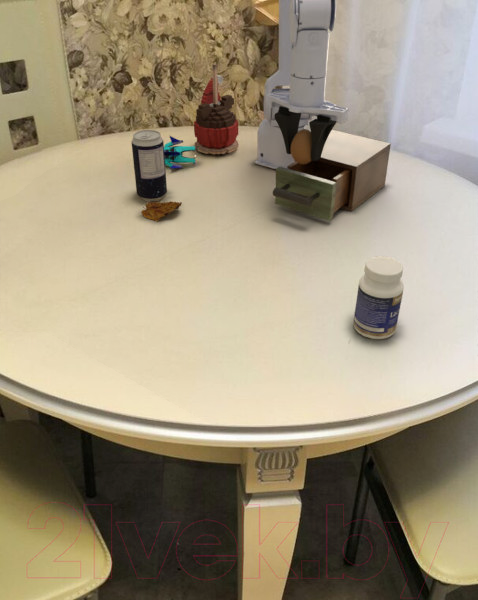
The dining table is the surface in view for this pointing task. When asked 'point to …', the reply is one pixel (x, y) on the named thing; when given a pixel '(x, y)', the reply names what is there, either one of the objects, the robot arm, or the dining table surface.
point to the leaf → (159, 209)
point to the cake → (215, 120)
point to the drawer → (313, 188)
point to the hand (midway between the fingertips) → (303, 155)
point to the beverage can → (149, 165)
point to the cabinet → (358, 163)
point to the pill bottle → (379, 298)
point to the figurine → (177, 153)
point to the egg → (302, 147)
